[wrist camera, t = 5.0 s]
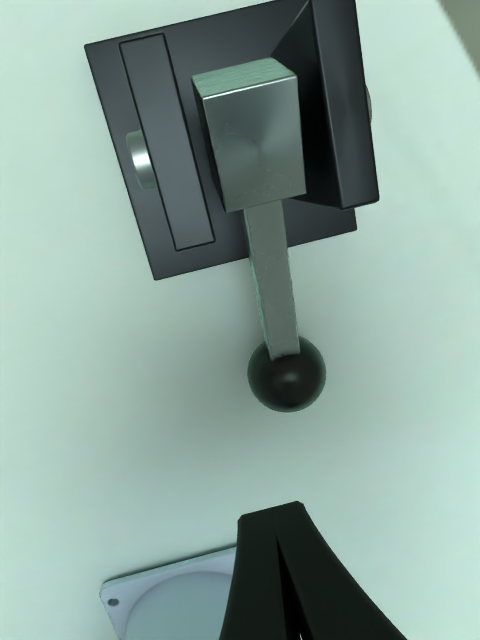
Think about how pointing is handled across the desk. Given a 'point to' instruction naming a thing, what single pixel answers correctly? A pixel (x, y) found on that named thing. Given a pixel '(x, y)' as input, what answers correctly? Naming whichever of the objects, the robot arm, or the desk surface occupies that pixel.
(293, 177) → the lever
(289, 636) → the robot arm
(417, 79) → the desk surface
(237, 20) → the bracket
